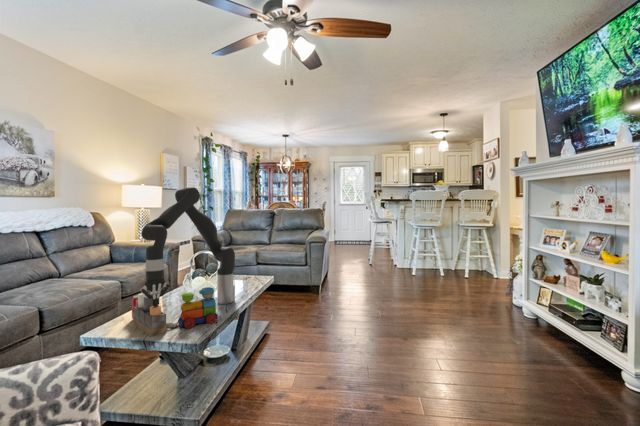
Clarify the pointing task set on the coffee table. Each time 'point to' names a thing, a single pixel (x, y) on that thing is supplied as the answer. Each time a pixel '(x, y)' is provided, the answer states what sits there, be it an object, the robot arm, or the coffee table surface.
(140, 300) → the plunger
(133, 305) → the soda can
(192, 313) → the toy train
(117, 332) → the coffee table surface
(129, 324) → the coffee table surface
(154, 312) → the plunger
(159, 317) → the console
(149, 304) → the grey upright block
